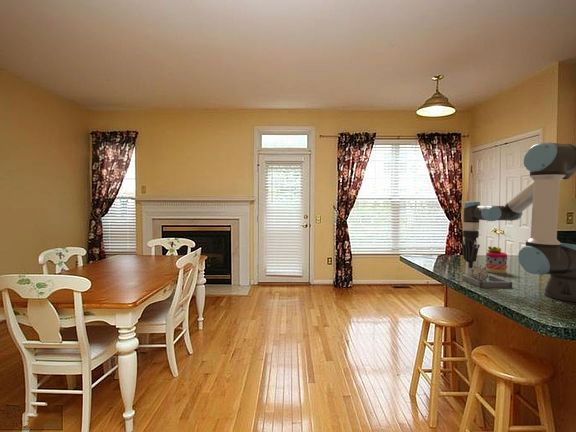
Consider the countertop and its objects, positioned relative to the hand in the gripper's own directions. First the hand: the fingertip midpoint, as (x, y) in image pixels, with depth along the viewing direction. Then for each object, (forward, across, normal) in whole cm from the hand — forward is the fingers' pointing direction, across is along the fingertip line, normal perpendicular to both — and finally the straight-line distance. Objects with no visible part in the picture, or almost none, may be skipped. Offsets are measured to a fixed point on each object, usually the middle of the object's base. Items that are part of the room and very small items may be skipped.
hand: (468, 273), depth 177 cm
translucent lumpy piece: (+2, -10, 0) cm, 10 cm away
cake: (+2, +13, -24) cm, 28 cm away
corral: (+2, -14, 0) cm, 14 cm away
